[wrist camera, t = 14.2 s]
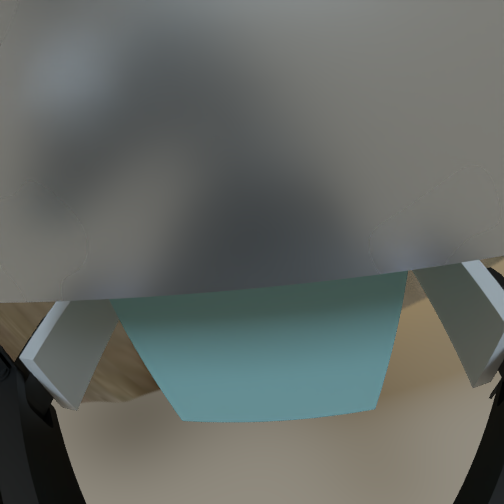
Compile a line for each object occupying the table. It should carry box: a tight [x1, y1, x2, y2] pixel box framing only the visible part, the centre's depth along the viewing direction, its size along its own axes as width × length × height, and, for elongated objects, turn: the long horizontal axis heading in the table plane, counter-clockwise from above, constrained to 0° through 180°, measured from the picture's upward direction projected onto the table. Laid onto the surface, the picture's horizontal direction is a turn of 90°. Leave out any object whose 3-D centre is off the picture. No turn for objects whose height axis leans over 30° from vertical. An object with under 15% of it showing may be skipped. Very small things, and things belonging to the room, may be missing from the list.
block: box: [109, 271, 408, 422], centre depth 11 cm, size 6×6×9 cm
